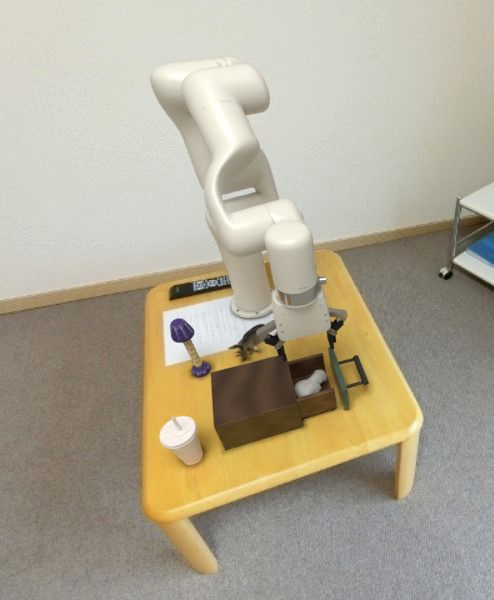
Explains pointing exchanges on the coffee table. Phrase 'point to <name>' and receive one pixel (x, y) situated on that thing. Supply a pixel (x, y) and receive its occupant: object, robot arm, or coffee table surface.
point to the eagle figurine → (247, 342)
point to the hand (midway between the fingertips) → (307, 350)
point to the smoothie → (182, 439)
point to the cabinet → (254, 402)
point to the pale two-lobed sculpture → (310, 384)
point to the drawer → (326, 395)
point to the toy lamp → (188, 345)
